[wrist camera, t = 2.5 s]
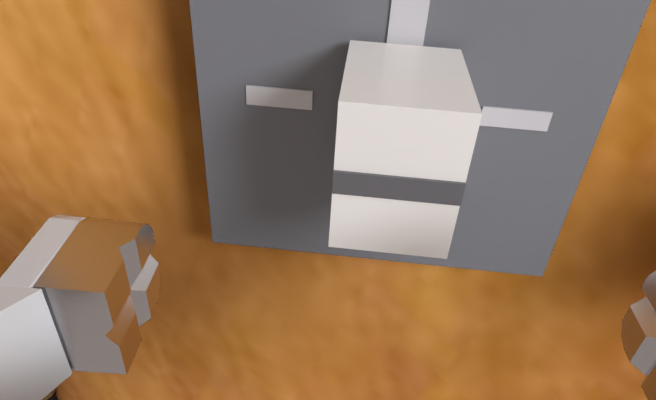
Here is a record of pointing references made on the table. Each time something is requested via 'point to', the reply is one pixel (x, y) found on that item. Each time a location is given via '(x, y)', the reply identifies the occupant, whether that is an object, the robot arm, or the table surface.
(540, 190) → the console
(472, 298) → the table surface
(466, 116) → the block
